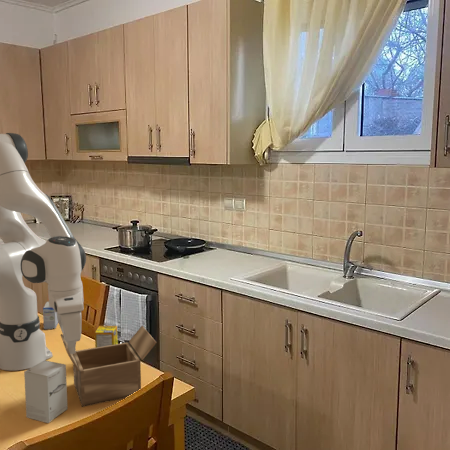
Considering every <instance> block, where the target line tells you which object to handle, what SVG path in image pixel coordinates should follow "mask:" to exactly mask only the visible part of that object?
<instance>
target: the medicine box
mask: <svg viewBox="0 0 450 450" xmlns="http://www.w3.org/2000/svg"><path fill="white" fill-rule="evenodd" d="M42 319H43V320H42V321H43V330H56V329H55V328H57V327H58V325H59V323H58V320H57V312H55V311H54V309H53V308H52V307H50V306H49V300H48V301H46V302H45V304H44V305H43V307H42ZM53 328H54V329H53Z"/></svg>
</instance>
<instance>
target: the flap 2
mask: <svg viewBox="0 0 450 450" xmlns="http://www.w3.org/2000/svg"><path fill="white" fill-rule="evenodd" d="M128 343H129V345H130V346H131V348H132V349H133V350H134V352H135V353H137V354H136V355H137V356H138V358H139V359H141V361H143V360H144V359H145V357H147V355H148V354H149V353H150V352H151V350H152V349H153V348H154V347H155V345H157V343H158V342H157V341H156V340H155V339H154V337H152V335H151V334H150V333H149V332H148V330H147V329H146V328H145V327H144V326H143V325H141V326H140V327H139V329H137V331H136V332H135V333H134V334H133V336H132V337H131V338H130V339H129V340H128Z"/></svg>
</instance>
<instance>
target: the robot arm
mask: <svg viewBox="0 0 450 450" xmlns="http://www.w3.org/2000/svg"><path fill="white" fill-rule="evenodd" d="M28 152H29V151H28V146H27V142H26V141H25V139H24V138H23V136H21V134H19V133H14V132H6V133H0V239H1V241H2V242H3V243H0V370H4V371H22V370H28V369H30V368H32V367H33V366H35V365H37V364H39V363H40V362H42V361H44V360H45V361H47V360H49V359H51V358H52V357H53V356H54V355H53V352H52V351H51V350H50V349H49V348H48V346H47V343H46V334H45V332H44V331H43V330H41V329H40V327H41V326H40V323H41V322H40V321H41V320H40V316H39V315H38V301H37V300H38V297H37V293H36V292H35V291H34V290H33V289H31V288H29V287H27V286H25V284H24V281H23V278H25V280H27V281H28V282H30V283H33V284H42V283H46V284H47V295H48V296H47V297H48V301H49V306H50V307H52V308H53V309H54V311H55V312H57V320H58V325H59V328H60V330H61V334H63V337H64V339H65V341H66V343H68V351H69V352H70V354H75V353H76V351H77V350H76V347H77V346H76V345H77V342H80V341H81V338H82V311H84V301H85V299H84V286H83V281H82V279H81V274H82V271H83V270H84V268H85V265H86V263H87V254H86V251H85V249H84V248H83V246H82V245H81V244H80V243H79V242H78V240H77V239H76V238H75V237H74V235H73V233H72V232H71V229H70V228H69V226H68V225H67V222H66V221H65V219H64V217H63V216H62V214H61V213H60V210H59V209H58V207H57V206H56V204H55V202H54V200H52V199H51V197H50V196H49V195H48V194H46V193H45V192H43V191H42V190H41V189H40V188H39V187H38V185H37V184H36V183H35V181H34V180H33V178H32V176H31V174H30V172H29V170H28V167H27V166H26V165H27V164H26V162H27V160H28V159H29V153H28ZM22 214H25V215H27V216H31V217H32V218H35V219H37V220H39V221H40V222H41V224H42V225H43V227H44V228H45V230H46V232H47V233H48V235H49V238H48V239H47V240H46V239H44V238H41V237H40V236H38V235H37V234H36V233H35V232H34V231H33V230H32V228H30V226H29V225H28V223H26V221H25V220H24V217H23V215H22Z"/></svg>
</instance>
